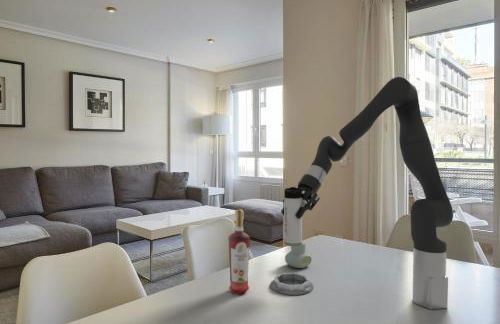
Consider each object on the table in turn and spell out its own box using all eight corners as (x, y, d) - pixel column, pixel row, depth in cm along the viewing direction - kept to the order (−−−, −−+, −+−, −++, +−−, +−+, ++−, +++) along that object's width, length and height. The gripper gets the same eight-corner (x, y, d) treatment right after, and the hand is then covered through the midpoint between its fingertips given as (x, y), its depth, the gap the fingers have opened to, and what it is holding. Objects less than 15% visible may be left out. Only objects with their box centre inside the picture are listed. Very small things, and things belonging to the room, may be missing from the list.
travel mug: (301, 241, 125) (301, 186, 124) (302, 246, 118) (302, 189, 118) (284, 241, 126) (284, 186, 125) (284, 246, 119) (284, 189, 118)
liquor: (230, 297, 113) (230, 212, 112) (226, 288, 120) (226, 208, 119) (252, 294, 115) (252, 211, 114) (246, 286, 122) (246, 207, 121)
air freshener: (296, 271, 136) (296, 246, 136) (281, 266, 143) (281, 242, 142) (314, 265, 143) (314, 242, 143) (299, 260, 150) (299, 238, 149)
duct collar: (319, 293, 116) (319, 286, 116) (276, 296, 113) (276, 289, 113) (304, 277, 130) (304, 270, 130) (266, 279, 128) (266, 272, 128)
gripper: (293, 172, 131) (270, 206, 124) (323, 174, 120) (300, 212, 113) (302, 185, 135) (280, 219, 128) (332, 188, 124) (310, 225, 117)
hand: (290, 215), depth 120 cm, fingers closed on travel mug, 6 cm apart
